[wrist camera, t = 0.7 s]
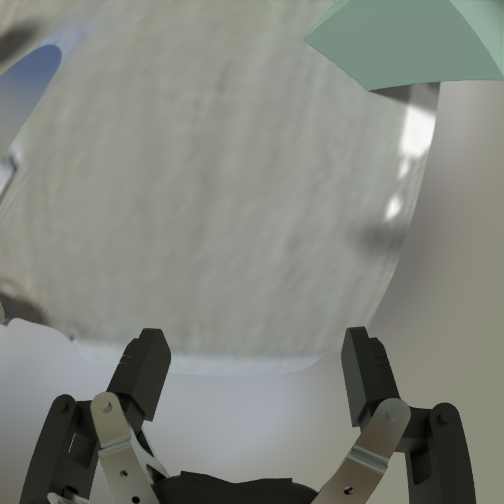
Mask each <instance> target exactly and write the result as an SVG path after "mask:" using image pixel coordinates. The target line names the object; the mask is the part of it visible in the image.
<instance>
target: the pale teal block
mask: <svg viewBox="0 0 504 504" xmlns="http://www.w3.org/2000/svg"><path fill="white" fill-rule="evenodd" d="M303 41H304V42H306V43H307V44H309V45H310V46H312V47H313V48H314V49H316V50H317V51H319V52H320V53H321V54H323V55H324V56H326V57H327V58H328V59H330V60H331V61H332V62H333V63H335V64H336V65H337V66H339V67H340V68H341V69H342V70H344V71H345V72H346V73H347V74H349V75H350V76H351V77H352V78H353V79H354V80H356V81H357V82H358V83H359V84H360V85H361V86H363V87H364V88H365V89H366V90H367V91H370V90H376V89H382V88H388V87H395V86H402V85H410V84H418V83H428V82H441V81H457V80H504V0H337V1H336V2H335V3H334V4H333V5H332V6H331V7H330V9H329V10H328V11H327V12H326V13H325V14H324V15H323V17H322V18H321V19H320V20H319V21H318V23H317V24H316V25H315V26H314V27H313V29H312V30H311V31H310V32H309V33H308V35H307V36H306V37H305V38H304V40H303Z"/></svg>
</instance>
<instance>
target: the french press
mask: <svg viewBox="0 0 504 504" xmlns="http://www.w3.org/2000/svg"><path fill="white" fill-rule="evenodd" d="M4 321H5V312H4V309H3V306H2V303H1V301H0V325H2V324H3V323H4Z"/></svg>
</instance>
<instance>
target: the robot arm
mask: <svg viewBox="0 0 504 504" xmlns="http://www.w3.org/2000/svg"><path fill="white" fill-rule="evenodd" d="M341 361H342V368H343V372H344V378H345V384H346V390H347V396H348V402H349V408H350V414H351V421H352V427H358V426H360V430H361V435H360V436H359V438H358V439H357V441H356V443H355V444H354V445H353V447H352V448H351V450H350V451H349V453H348V454H347V456H346V457H345V458H344V460H343V461H342V463H341V464H340V465H339V467H338V468H337V469H336V471H335V472H334V473H333V475H332V476H331V477H330V479H329V480H328V481H327V482H326V484H325V485H324V486H323V487H322V489H321V490H320V491H319V492H316V491H315V490H313V489H312V488H310V487H307V486H305V485H302V484H298V483H293V482H292V478H282V479H281V478H280V479H259V480H255V481H248V482H242V483H230V482H227V481H224V480H221V479H218V478H215V477H212V476H209V475H205V474H199V473H192V472H186V471H181V474H180V475H179V476H173V477H170V476H169V474H168V472H167V471H166V469H165V468H164V466H163V465H162V464H161V463H160V461H159V460H158V458H157V456H156V454H155V452H154V450H153V448H152V446H151V444H150V442H149V439H148V437H147V435H146V433H145V431H144V428H143V427H142V424H143V421H144V420H147V421H153V418H154V414H155V411H156V407H157V404H158V401H159V398H160V394H161V391H162V388H163V385H164V381H165V378H166V375H167V372H168V369H169V366H170V363H171V352H170V349H169V346H168V344H167V342H166V339H165V337H164V334H163V332H162V330H161V329H154V328H144V329H143V330H142V332H141V334H140V336H139V339H137V338H134V339H133V340H132V341H131V342H130V343H129V344H128V345H127V347H126V349H125V351H124V353H123V357H121V359H120V362H119V364H118V366H117V368H116V371H115V373H114V375H113V377H112V379H111V382H110V384H109V386H108V388H107V390H106V392H102V393H100V394H98V395H96V396H95V397H94V399H93V400H89V401H75V399H74V398H73V397H72V396H70V395H67V394H63V395H60V396H58V397H57V398H56V399H55V400H54V401H53V403H52V406H51V408H50V410H49V413H48V415H47V418H46V420H45V423H44V425H43V428H42V431H41V433H40V436H39V439H38V441H37V444H36V447H35V450H34V453H33V456H32V459H31V462H30V466H29V469H28V472H27V476H26V479H25V483H24V486H23V490H22V494H21V498H20V503H19V504H90V502H89V496H90V491H91V487H92V482H93V478H94V474H95V470H96V466H97V462H98V458H99V459H100V462H101V465H102V468H103V470H104V473H105V476H106V479H107V481H108V484H109V486H110V489H111V491H112V493H113V496H114V498H115V500H116V502H117V504H365V503H366V501H367V500H368V499H369V497H370V495H371V494H372V493H373V491H374V490H375V488H376V487H377V485H378V483H379V482H380V480H381V479H382V477H383V475H384V473H385V471H386V470H387V467H388V466H387V464H388V461H389V460H390V458H391V456H392V454H393V452H404V453H405V459H406V467H407V476H408V489H409V504H476V496H475V488H474V481H473V474H472V468H471V463H470V457H469V452H468V448H467V443H466V439H465V435H464V430H463V427H462V423H461V419H460V415H459V412H458V410H457V409H456V407H455V406H453V405H452V404H450V403H440V404H438V405H436V406H435V407H434V408H433V409H421V408H413V407H410V406H408V405H407V403H406V402H404V401H403V400H402V399H401V398H400V396H399V393H398V390H397V386H396V383H395V379H394V376H393V373H392V370H391V366H390V363H389V360H388V358H387V354H386V351H385V348H384V346H383V344H382V343H381V342H380V341H379V340H378V339H377V338H376V337H375V338H369V337H368V334H367V331H366V328H365V327H364V326H363V327H351V328H347V329H346V334H345V338H344V343H343V347H342V352H341ZM74 434H75V436H74ZM73 436H74V439H73ZM72 439H73V442H72ZM71 442H72V445H71ZM70 445H71V448H70ZM69 449H70V452H69Z"/></svg>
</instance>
